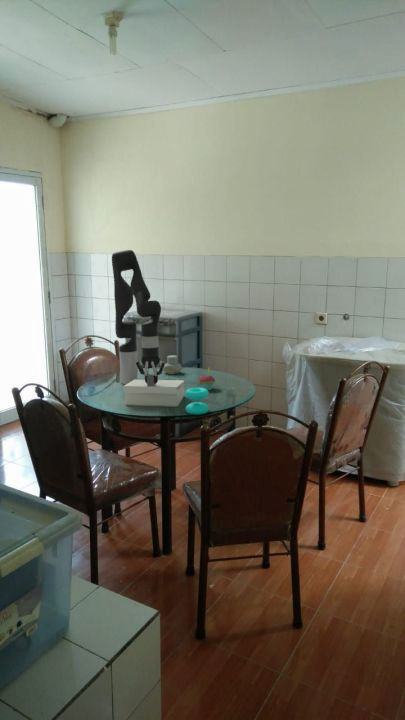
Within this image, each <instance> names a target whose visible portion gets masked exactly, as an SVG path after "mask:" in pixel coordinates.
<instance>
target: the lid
mask: <svg viewBox="0 0 405 720" xmlns="http://www.w3.org/2000/svg"><path fill="white" fill-rule="evenodd" d="M154 376H155V375H154V373H148V375H147V384H146V382H145V379H138V380H135V379H134V380H133V381H131V382H129V383H128V384H123V393H124V394H125V393H158V394H177V388H179V387H180V386H181V385H182V384H183V383H184V384H185V380H179V379H176V380H175V379H174V380H173V379H170V380H169V379H158V382H157V383H156V384H154Z"/></svg>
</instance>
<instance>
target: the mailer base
mask: <svg viewBox="0 0 405 720" xmlns="http://www.w3.org/2000/svg"><path fill="white" fill-rule="evenodd" d="M124 396H125V397H124V398H125V399H124V401H125V406H128V407H129V406H133V407H134V406H135V407H136V406H137V407H140V406H141V407H170V408H172V407H173V408H176V407H177V408H178V407H179V406H180V404H181V402H182V401H183V399H184V397H185V382H184V383H183V384H182V385H181V386H180V387H179V388H177V394H158V393H124Z"/></svg>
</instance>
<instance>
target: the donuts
mask: <svg viewBox="0 0 405 720" xmlns="http://www.w3.org/2000/svg"><path fill="white" fill-rule="evenodd" d="M184 395H185V396H186V397H187V398H188V399H191V400H203V399H206V398H207V397H208V396H209V390H207V389H205V388H202V387H190V388H187V390H185V391H184ZM209 410H210V408H209V405H208V404H206V403H204V402H199V401H198V402H197V401H196V402H195V401H194V402H191V403H188V404H187V406H186V407H185V411H186V413H188V414H190V415H193V416H194V415H195V416H198V415H204V414H207V413H208V412H209Z"/></svg>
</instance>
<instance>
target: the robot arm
mask: <svg viewBox="0 0 405 720" xmlns="http://www.w3.org/2000/svg"><path fill="white" fill-rule="evenodd" d="M111 266H112V267H111V268H112V274H113V282H114V283H113V285H114V286H113V287H114V290H113V291H114V293H113V294H114V309H115V324H114V325H115V331H114V332H115V336H116V338H117V339H129V340H128V341H127V342H125V343H122V344H120V345H119V346H118V350H119V351H118V352H119V372H120V374H119V375H120V384H123V385H126V384H128V383H129V382H131V381H133V380H134V379H135V380H139V373H140V375H143V376H144V380H145V382H146V384H147V375H148V374H149V371H150V369H152V371H153V374H154V375H155V376H154V384H156V383H157V382H158V380H159V375H161V374H163V372H164V370H163V369H164V366H165V364H167V361H162V360H161V358H160V347H159V341H160V340H159V332H158V330H159V329H158V325H159V323H160V322H159V320H160V316H161V312H162V306H161V304H160V302H159V301H158V300H150V299H151V293H150V290H149V288H148V286H147V285H146V282H145V279H144V277H143V274H142V273H143V272H142V270H141V267H140V264H139V261H138V258H137V255H136V254H135V251H133V250H132V249H125V250H121V251H120V250H119V251H115V252H113V253H112V255H111ZM131 270H132V272H133V273H132V278H131V280H130V284H129V283H128V282H127V281H126V280H125V279H124V277H123V275H122V272H126V271H131ZM134 299H135V304H136V312H137V315H138V316H139V317H141V318H150V319H149V320H148V321H145V322H143V323H142V324H141V345H140V346H141V359H140V360H138V351H137V350H138V347H137V323H136V321H135V320H132V319H131V320H123V319H124V317H125V316H126V315H127V313H128V312H129V311H130V310H131V308H132V307H133V305H134ZM158 365H159V366H160V368H159V370H158ZM143 366H144V368H143Z"/></svg>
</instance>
